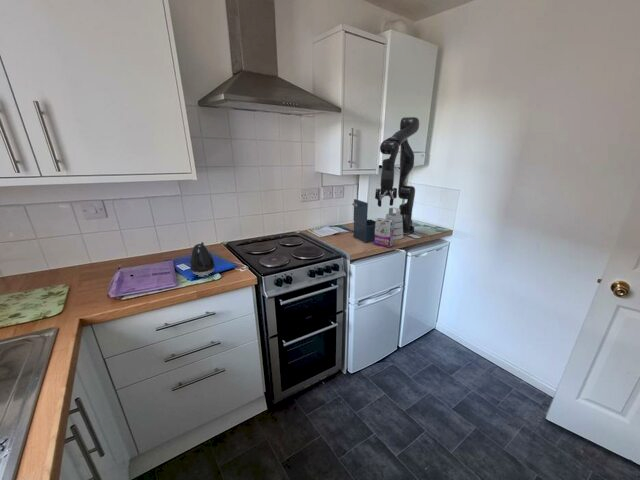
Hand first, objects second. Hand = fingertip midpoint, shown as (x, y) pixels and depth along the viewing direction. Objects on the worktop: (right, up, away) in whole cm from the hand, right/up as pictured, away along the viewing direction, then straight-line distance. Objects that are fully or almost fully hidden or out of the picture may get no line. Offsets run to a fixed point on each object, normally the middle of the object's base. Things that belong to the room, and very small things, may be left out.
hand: (385, 206), depth 179 cm
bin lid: (-14, -2, +11) cm, 18 cm away
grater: (+8, -17, +25) cm, 31 cm away
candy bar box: (0, -23, +9) cm, 25 cm away
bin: (-9, -18, +21) cm, 29 cm away
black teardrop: (-90, -40, -39) cm, 106 cm away
